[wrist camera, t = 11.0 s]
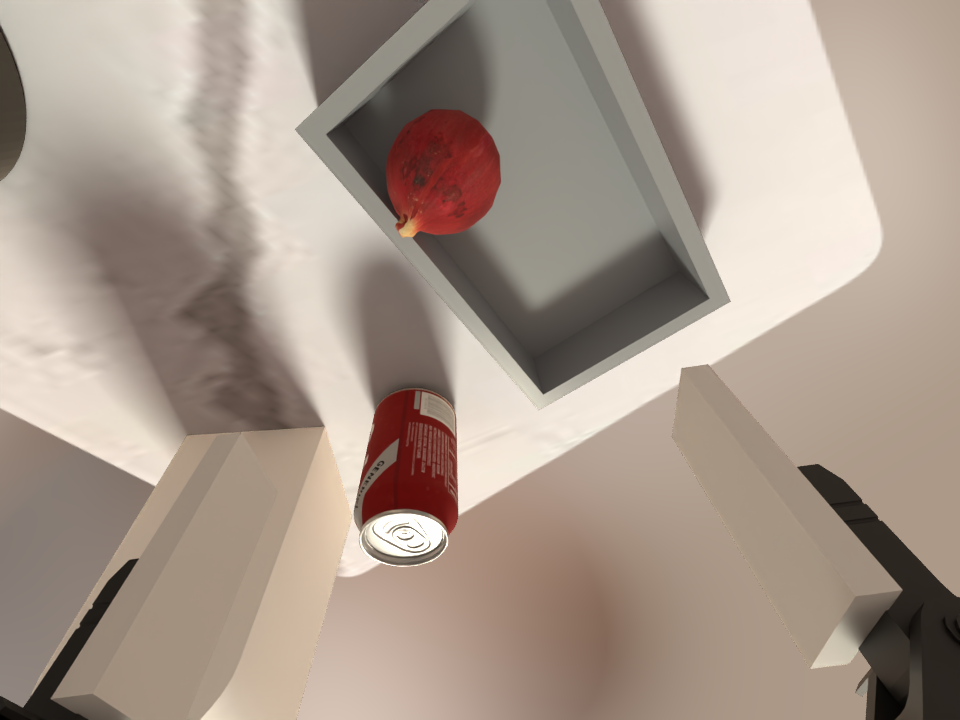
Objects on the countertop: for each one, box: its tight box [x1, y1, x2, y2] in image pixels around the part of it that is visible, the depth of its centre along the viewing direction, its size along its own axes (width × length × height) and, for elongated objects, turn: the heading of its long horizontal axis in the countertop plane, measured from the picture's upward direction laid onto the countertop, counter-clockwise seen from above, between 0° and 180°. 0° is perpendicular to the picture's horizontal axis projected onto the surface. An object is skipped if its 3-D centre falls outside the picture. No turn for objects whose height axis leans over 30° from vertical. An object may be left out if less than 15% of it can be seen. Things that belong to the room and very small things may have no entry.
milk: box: [31, 427, 352, 720], centre depth 30 cm, size 12×12×26 cm
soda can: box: [354, 388, 458, 567], centre depth 32 cm, size 7×7×12 cm
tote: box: [295, 0, 731, 410], centre depth 26 cm, size 22×14×5 cm, turn 36°
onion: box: [386, 109, 501, 238], centre depth 23 cm, size 6×6×8 cm
